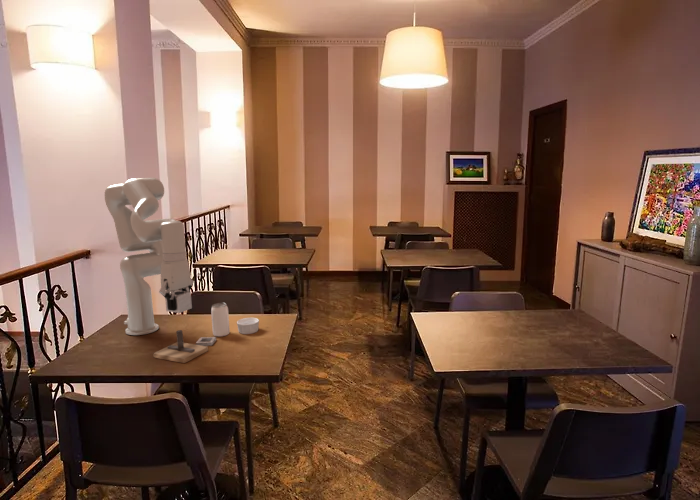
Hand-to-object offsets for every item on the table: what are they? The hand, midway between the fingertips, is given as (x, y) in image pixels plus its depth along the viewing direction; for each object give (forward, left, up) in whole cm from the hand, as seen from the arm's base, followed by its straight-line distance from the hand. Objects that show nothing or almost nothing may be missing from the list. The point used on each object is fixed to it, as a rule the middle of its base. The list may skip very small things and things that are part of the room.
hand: (178, 306), depth 167 cm
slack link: (+1, +11, -17) cm, 21 cm away
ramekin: (+8, +28, -18) cm, 34 cm away
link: (0, 0, -1) cm, 1 cm away
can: (0, +21, -17) cm, 28 cm away
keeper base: (0, -1, -17) cm, 17 cm away
